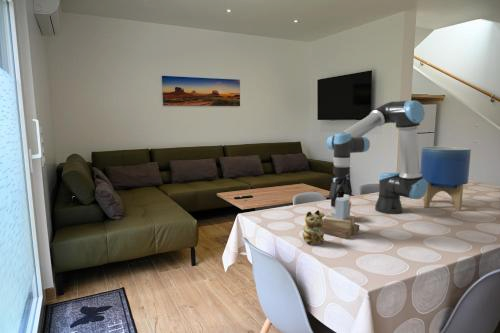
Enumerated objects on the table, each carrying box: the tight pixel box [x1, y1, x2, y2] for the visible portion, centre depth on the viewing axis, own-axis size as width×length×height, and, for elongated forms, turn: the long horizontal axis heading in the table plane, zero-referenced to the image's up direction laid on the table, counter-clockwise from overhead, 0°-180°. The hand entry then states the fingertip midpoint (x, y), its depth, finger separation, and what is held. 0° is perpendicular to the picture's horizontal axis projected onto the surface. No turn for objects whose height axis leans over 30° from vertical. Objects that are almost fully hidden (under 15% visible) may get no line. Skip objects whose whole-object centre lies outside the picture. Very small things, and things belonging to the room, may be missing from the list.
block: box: [332, 196, 350, 220], centre depth 158 cm, size 6×6×9 cm
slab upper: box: [323, 212, 356, 231], centre depth 159 cm, size 12×12×4 cm
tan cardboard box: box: [320, 223, 360, 240], centre depth 159 cm, size 14×14×4 cm
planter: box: [419, 145, 472, 212], centre depth 205 cm, size 26×26×37 cm
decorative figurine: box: [302, 209, 326, 246], centre depth 146 cm, size 10×8×15 cm
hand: (340, 210), depth 158 cm, fingers open, 12 cm apart
